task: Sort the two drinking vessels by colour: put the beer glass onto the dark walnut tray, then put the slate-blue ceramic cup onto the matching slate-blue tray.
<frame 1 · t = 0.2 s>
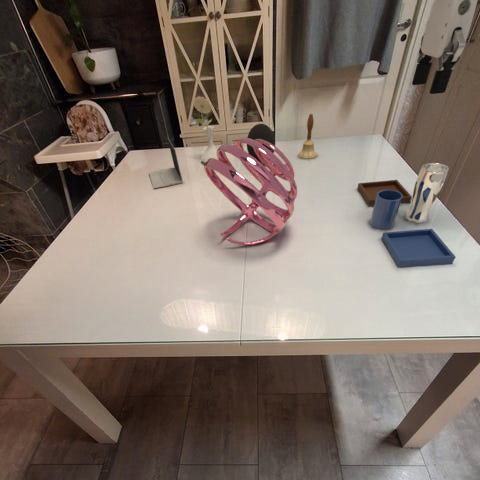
hand: (427, 88, 69), 33 cm above the table, tool pointing down, fingers open, 9 cm apart
laptop: (165, 179, 132), on the table
blue tray: (414, 250, 82), on the table
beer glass: (416, 218, 93), on the table
decorative egg: (261, 163, 134), on the table
walnut tray: (382, 195, 104), on the table
flower in vase: (212, 161, 141), on the table
hand bell: (307, 156, 135), on the table
spiral basket: (255, 232, 95), on the table
blue cup: (381, 223, 92), on the table
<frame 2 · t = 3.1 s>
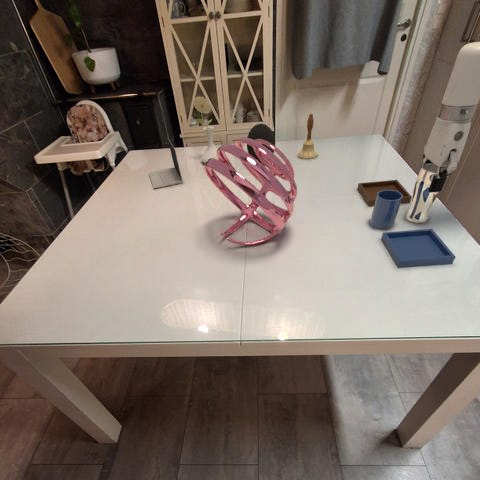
hand: (428, 185, 85), 10 cm above the table, tool pointing down, fingers closed on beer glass, 7 cm apart
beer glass: (416, 218, 93), on the table, touching gripper
everything else where it was.
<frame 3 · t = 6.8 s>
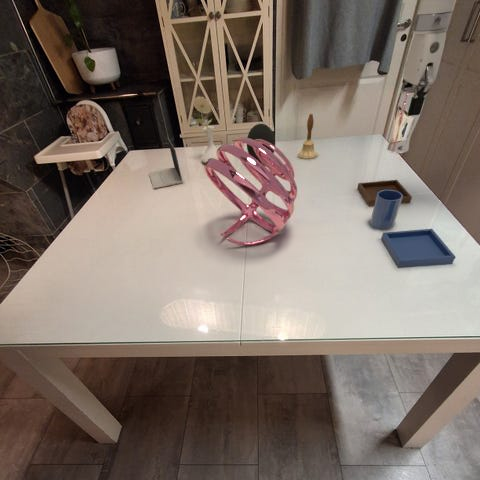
hand: (408, 110, 85), 25 cm above the table, tool pointing down, fingers closed on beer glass, 7 cm apart
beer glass: (397, 150, 92), point 15 cm above the table, touching gripper
everything else where it was.
when the fingers open (11 cm above the table, at t = 10.6 s): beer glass stays where it is, resting on walnut tray.
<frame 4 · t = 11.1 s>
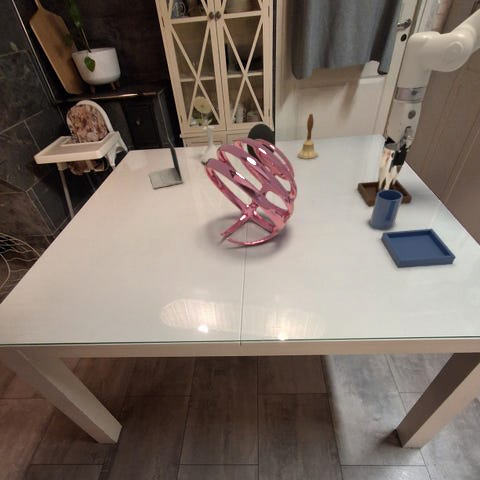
hand: (392, 159, 95), 12 cm above the table, tool pointing down, fingers open, 9 cm apart
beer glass: (382, 194, 104), resting on walnut tray
everything else where it was.
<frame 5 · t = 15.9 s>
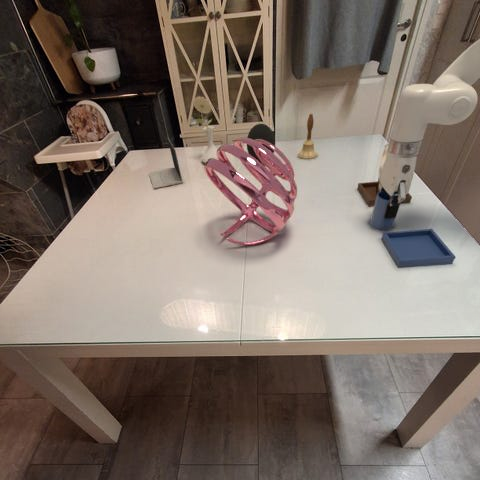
hand: (385, 210, 89), 4 cm above the table, tool pointing down, fingers closed on blue cup, 6 cm apart
blue cup: (381, 223, 92), on the table, touching gripper
everything else where it was.
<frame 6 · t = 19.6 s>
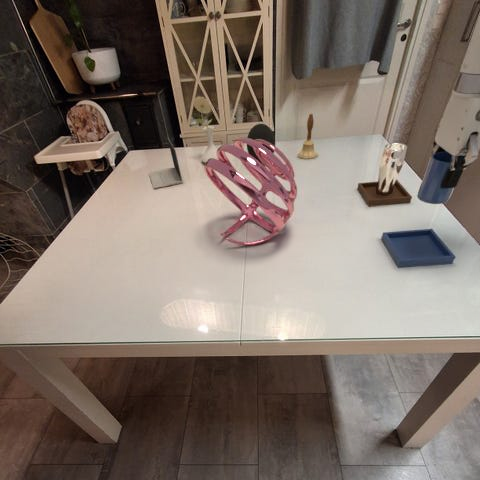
hand: (439, 179, 68), 19 cm above the table, tool pointing down, fingers closed on blue cup, 6 cm apart
blue cup: (432, 197, 71), point 15 cm above the table, touching gripper
everything else where it was.
when the fingers open (5 cm above the table, at t = 23.3 s): blue cup stays where it is, resting on blue tray.
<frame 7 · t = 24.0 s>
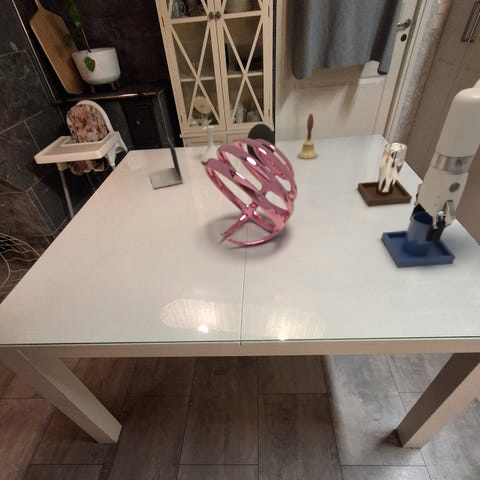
hand: (423, 230, 77), 6 cm above the table, tool pointing down, fingers open, 9 cm apart
blue cup: (414, 248, 81), point 1 cm above the table, touching blue tray
everything else where it was.
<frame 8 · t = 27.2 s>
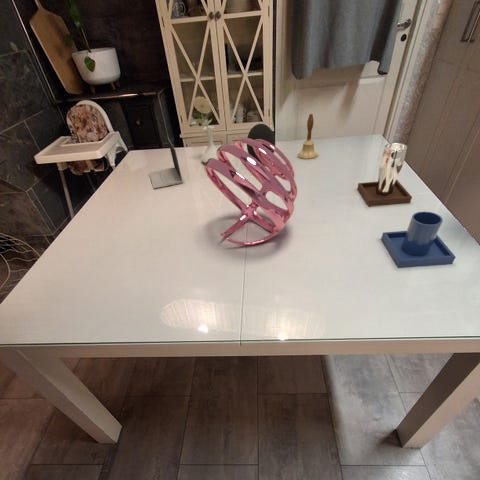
nothing on the table moved.
at the end: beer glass inside the target area in the walnut tray (0.1 cm from its centre), point 0.4 cm above the walnut tray's base; blue cup inside the target area in the blue tray (0.1 cm from its centre), point 0.6 cm above the blue tray's base; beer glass tilted 0° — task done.
